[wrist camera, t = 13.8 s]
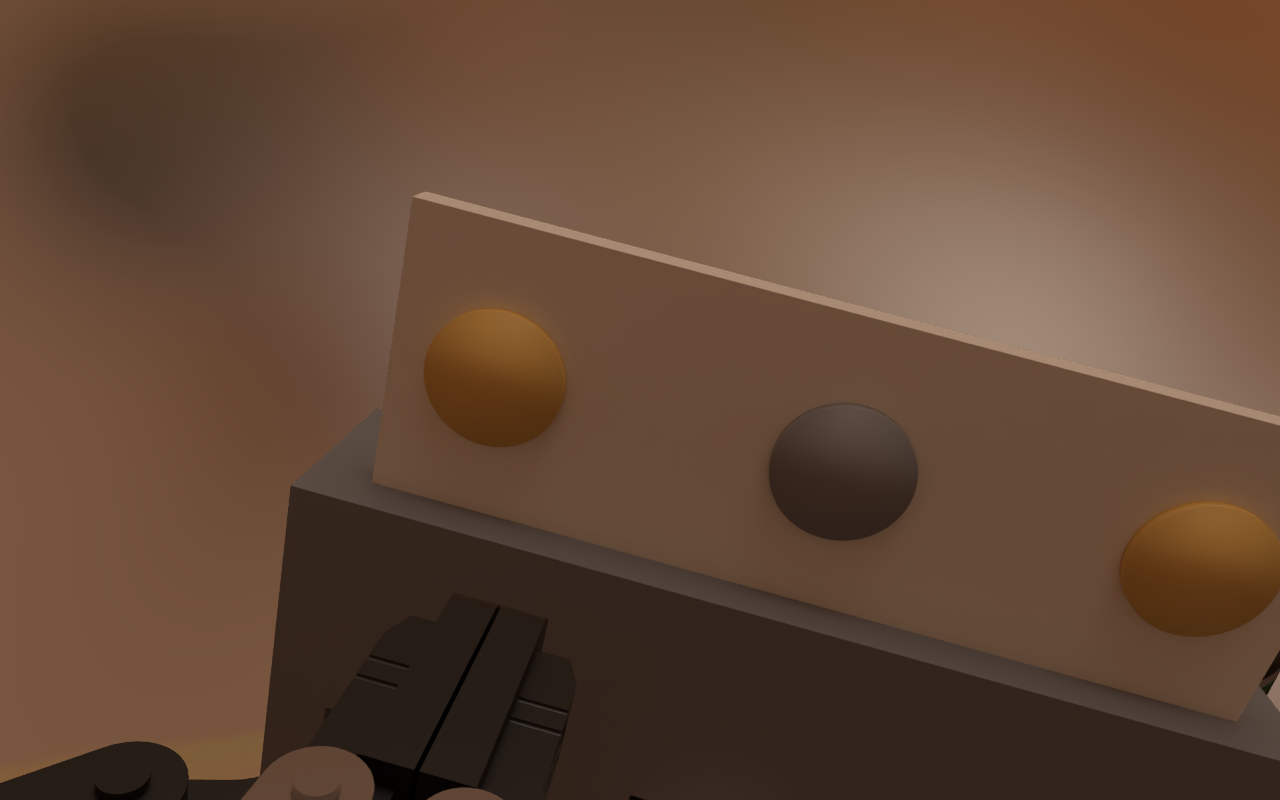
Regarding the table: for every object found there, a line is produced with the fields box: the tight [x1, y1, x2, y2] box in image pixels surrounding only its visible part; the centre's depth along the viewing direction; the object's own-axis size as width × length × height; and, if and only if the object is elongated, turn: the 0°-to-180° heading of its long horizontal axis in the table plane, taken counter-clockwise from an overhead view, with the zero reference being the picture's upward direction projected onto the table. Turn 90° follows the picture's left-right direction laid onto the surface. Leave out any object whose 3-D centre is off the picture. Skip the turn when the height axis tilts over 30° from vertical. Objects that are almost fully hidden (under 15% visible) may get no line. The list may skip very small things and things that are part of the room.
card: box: [372, 192, 1280, 722], centre depth 21 cm, size 21×1×7 cm, turn 82°
